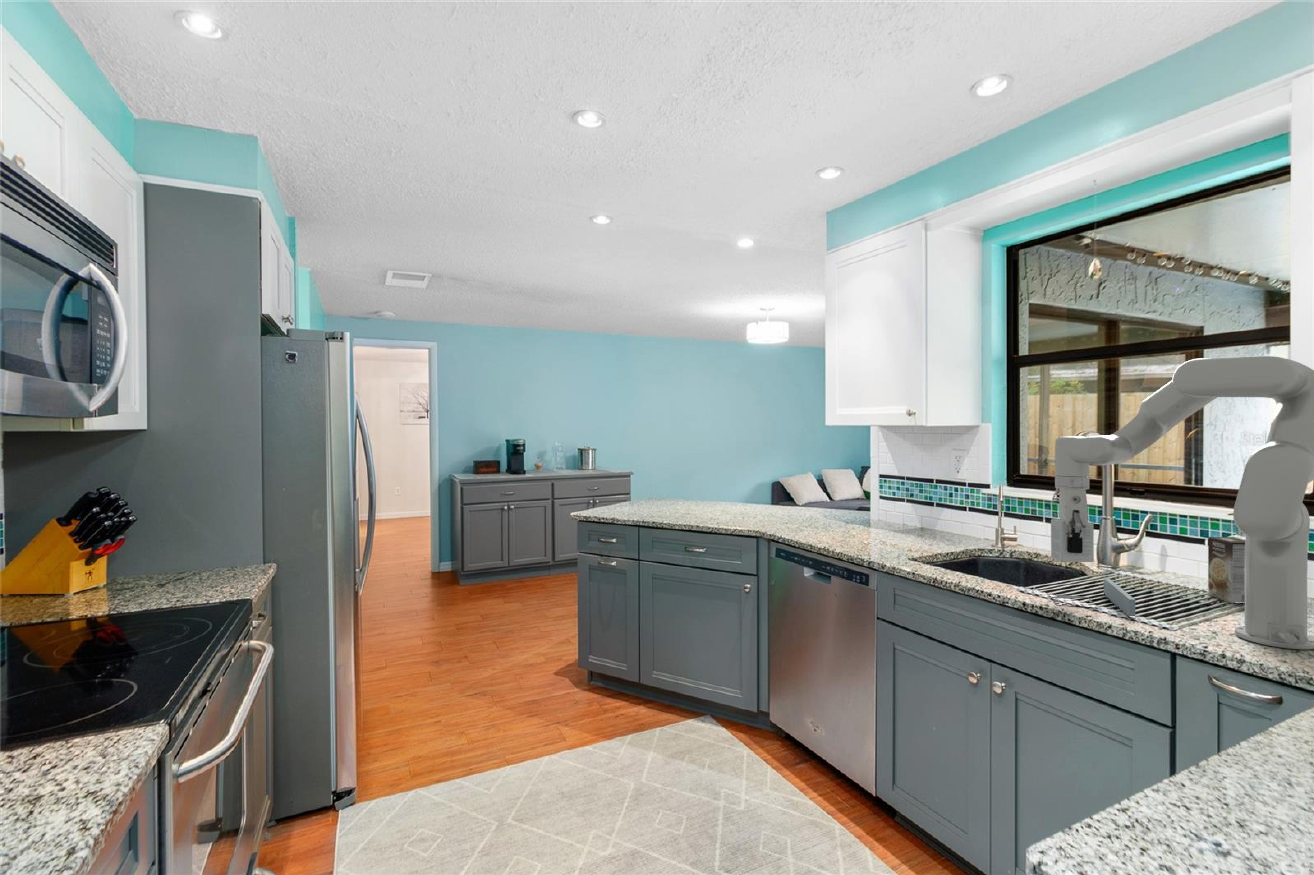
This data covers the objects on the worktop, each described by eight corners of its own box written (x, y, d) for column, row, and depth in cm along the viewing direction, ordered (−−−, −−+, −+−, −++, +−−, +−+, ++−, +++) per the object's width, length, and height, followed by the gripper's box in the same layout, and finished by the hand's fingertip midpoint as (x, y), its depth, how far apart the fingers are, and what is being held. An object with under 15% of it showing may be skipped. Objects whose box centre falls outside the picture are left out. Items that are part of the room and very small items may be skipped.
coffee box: (1206, 594, 170) (1206, 536, 170) (1233, 595, 169) (1233, 536, 169) (1231, 603, 161) (1230, 541, 161) (1259, 604, 160) (1259, 542, 160)
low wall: (1135, 618, 149) (1135, 599, 149) (1129, 617, 149) (1129, 599, 149) (1109, 594, 171) (1108, 578, 171) (1103, 594, 171) (1103, 577, 171)
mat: (1098, 608, 157) (1098, 607, 157) (1056, 605, 161) (1056, 603, 161) (1088, 598, 167) (1088, 597, 167) (1048, 594, 171) (1048, 593, 171)
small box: (1081, 558, 167) (1081, 519, 166) (1094, 562, 161) (1094, 522, 161) (1050, 557, 167) (1050, 518, 167) (1061, 562, 162) (1061, 521, 162)
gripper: (1097, 486, 155) (1096, 557, 155) (1081, 480, 170) (1081, 545, 171) (1061, 485, 158) (1061, 555, 158) (1049, 480, 173) (1049, 543, 174)
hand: (1071, 549), depth 164 cm, fingers closed on small box, 6 cm apart
